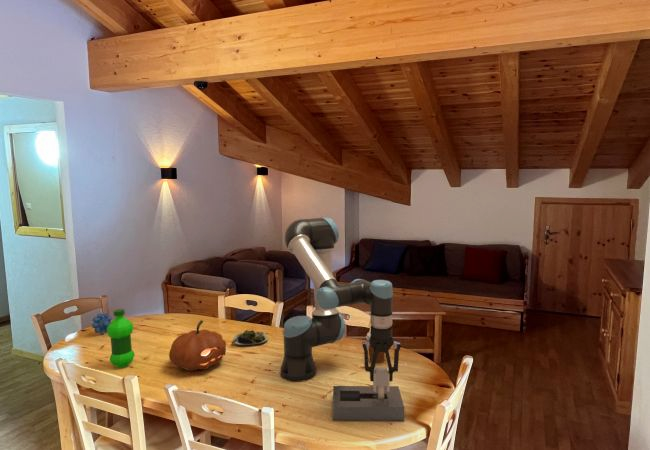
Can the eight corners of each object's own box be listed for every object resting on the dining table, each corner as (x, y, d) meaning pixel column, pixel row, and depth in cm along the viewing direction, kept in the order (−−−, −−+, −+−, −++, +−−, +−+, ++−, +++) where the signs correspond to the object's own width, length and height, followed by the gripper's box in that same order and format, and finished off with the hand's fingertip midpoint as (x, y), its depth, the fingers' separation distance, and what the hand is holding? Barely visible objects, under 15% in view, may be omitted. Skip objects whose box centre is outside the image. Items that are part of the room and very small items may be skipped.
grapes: (98, 339, 215) (96, 316, 213) (89, 337, 218) (88, 315, 216) (118, 331, 225) (116, 310, 224) (109, 329, 228) (107, 308, 227)
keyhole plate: (332, 420, 141) (332, 406, 140) (333, 398, 155) (333, 385, 154) (404, 421, 140) (404, 407, 139) (398, 399, 154) (398, 386, 153)
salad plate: (231, 334, 220) (231, 326, 220) (265, 331, 224) (265, 323, 223) (231, 349, 201) (231, 340, 201) (268, 345, 205) (268, 336, 205)
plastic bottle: (104, 368, 182) (100, 313, 179) (123, 358, 191) (119, 305, 188) (122, 371, 178) (118, 315, 175) (140, 361, 188) (137, 308, 185)
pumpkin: (213, 379, 170) (211, 335, 168) (157, 375, 174) (155, 332, 172) (236, 354, 195) (234, 315, 193) (186, 351, 199) (184, 313, 197)
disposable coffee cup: (386, 365, 181) (386, 339, 180) (364, 363, 183) (364, 337, 182) (387, 356, 191) (388, 331, 189) (367, 354, 192) (367, 329, 191)
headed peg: (374, 411, 145) (374, 373, 143) (373, 403, 150) (373, 366, 148) (389, 411, 144) (389, 373, 143) (387, 403, 149) (387, 366, 148)
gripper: (357, 329, 140) (357, 394, 143) (408, 329, 140) (407, 395, 142) (356, 321, 148) (356, 384, 150) (404, 321, 147) (404, 384, 150)
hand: (381, 389), depth 146 cm, fingers closed on headed peg, 4 cm apart
